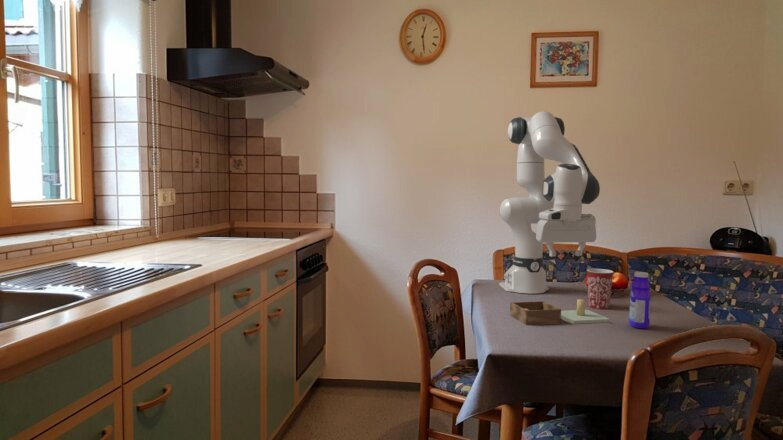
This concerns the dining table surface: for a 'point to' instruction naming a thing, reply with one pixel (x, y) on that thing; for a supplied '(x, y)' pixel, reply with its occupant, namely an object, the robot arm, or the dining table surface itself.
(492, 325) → the dining table surface
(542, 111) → the robot arm
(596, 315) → the lid
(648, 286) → the bottle
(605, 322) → the mat
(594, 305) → the mug
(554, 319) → the box
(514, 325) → the dining table surface
